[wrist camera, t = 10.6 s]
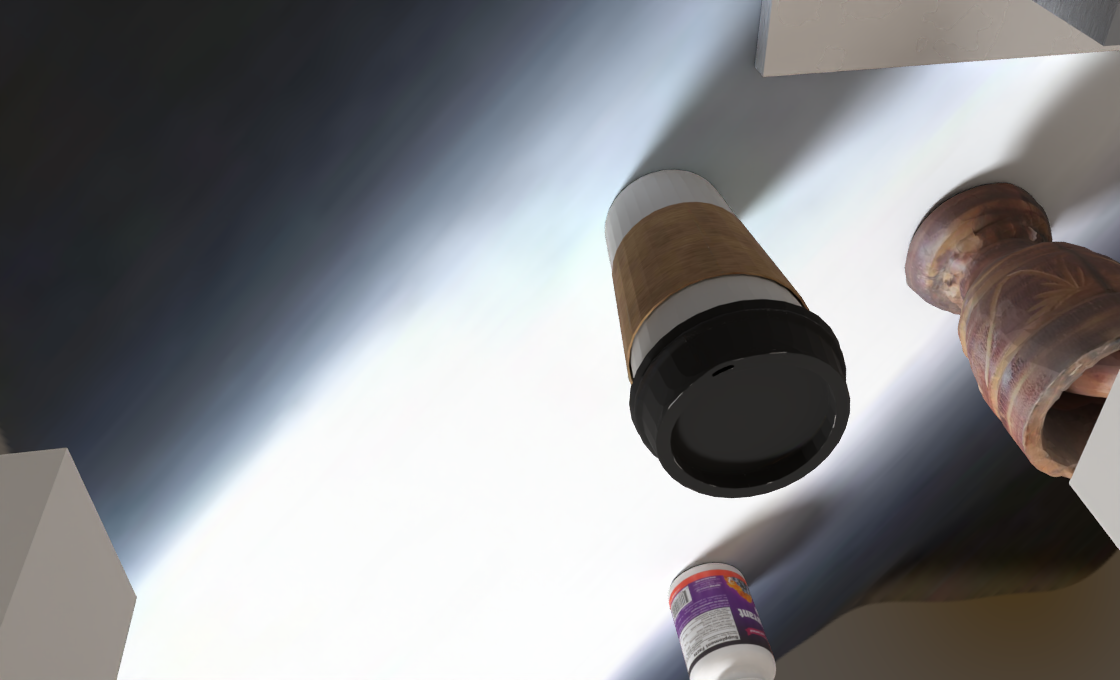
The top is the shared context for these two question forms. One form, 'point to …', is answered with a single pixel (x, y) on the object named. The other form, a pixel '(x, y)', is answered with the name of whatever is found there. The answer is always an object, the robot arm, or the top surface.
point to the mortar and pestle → (1024, 316)
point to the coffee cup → (718, 344)
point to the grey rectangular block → (1089, 17)
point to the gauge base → (907, 34)
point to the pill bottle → (719, 625)
